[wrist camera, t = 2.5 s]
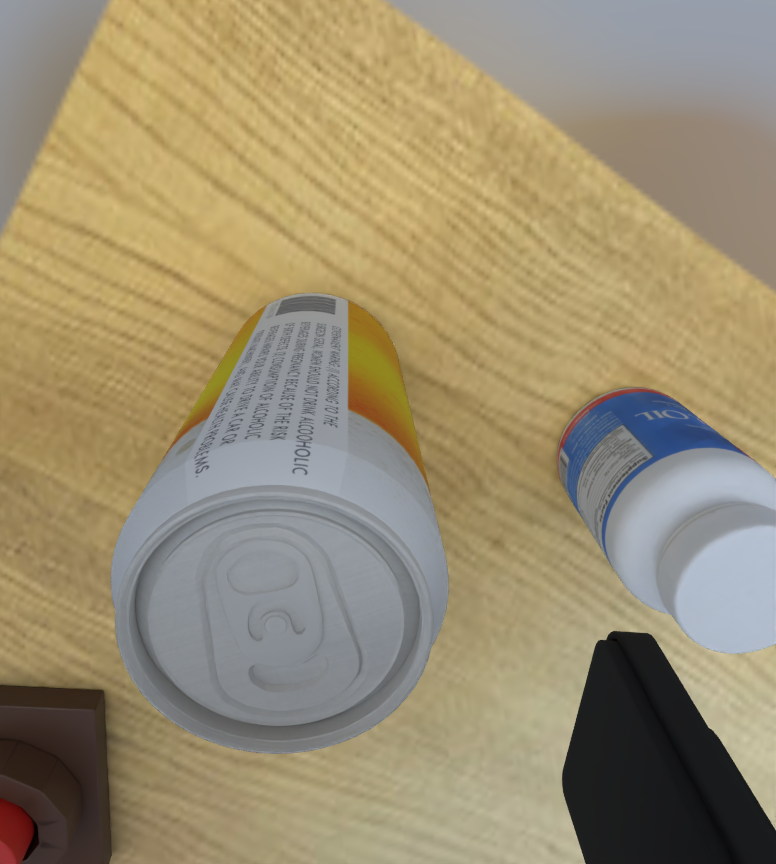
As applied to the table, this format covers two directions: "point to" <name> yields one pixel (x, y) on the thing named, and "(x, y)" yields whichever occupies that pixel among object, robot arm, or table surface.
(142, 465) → the table surface
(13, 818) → the button
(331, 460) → the beer can
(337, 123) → the table surface
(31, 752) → the button block
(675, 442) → the pill bottle
